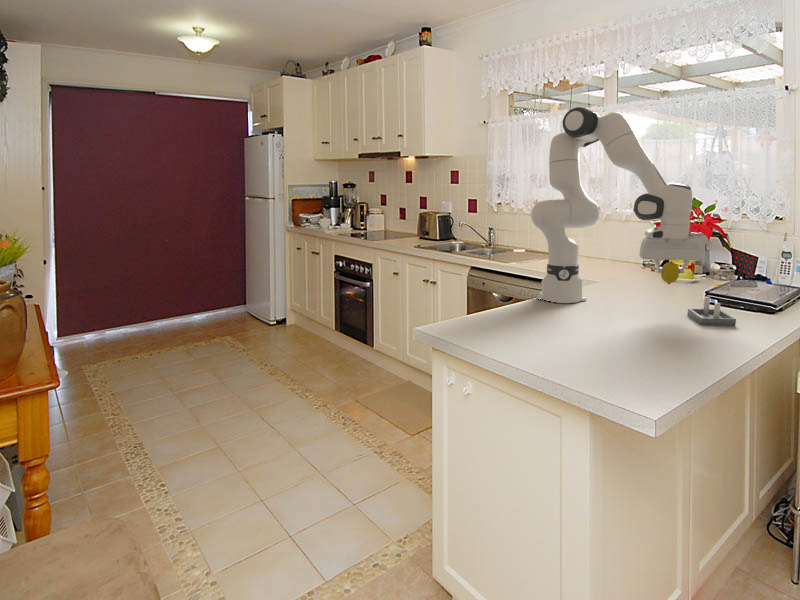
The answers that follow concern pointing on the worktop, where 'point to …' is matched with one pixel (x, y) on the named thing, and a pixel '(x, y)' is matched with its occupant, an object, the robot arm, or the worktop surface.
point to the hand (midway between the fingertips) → (669, 272)
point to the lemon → (670, 272)
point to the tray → (711, 315)
